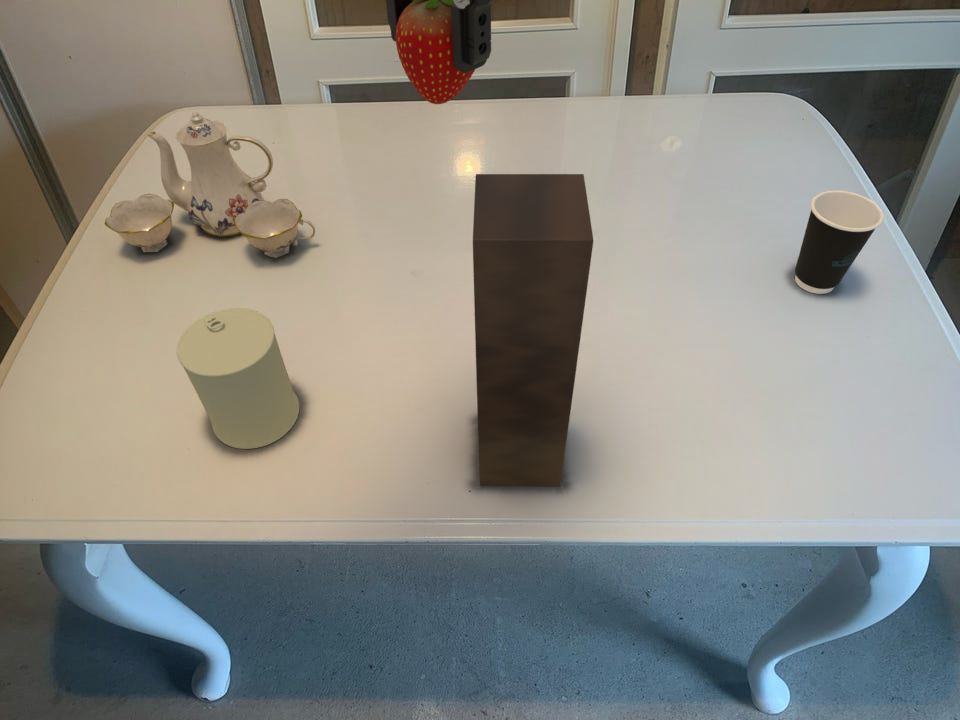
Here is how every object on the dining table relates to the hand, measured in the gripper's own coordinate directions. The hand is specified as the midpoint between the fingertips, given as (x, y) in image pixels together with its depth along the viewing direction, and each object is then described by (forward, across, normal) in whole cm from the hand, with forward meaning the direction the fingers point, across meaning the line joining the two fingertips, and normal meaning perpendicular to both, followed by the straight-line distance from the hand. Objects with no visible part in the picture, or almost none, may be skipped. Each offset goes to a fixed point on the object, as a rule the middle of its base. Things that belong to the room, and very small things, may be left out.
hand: (438, 52), depth 43 cm
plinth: (+40, +6, +2) cm, 40 cm away
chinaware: (+40, -49, 0) cm, 63 cm away
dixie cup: (+40, +15, +48) cm, 64 cm away
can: (+40, -17, -14) cm, 46 cm away
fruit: (+4, 0, 0) cm, 4 cm away
